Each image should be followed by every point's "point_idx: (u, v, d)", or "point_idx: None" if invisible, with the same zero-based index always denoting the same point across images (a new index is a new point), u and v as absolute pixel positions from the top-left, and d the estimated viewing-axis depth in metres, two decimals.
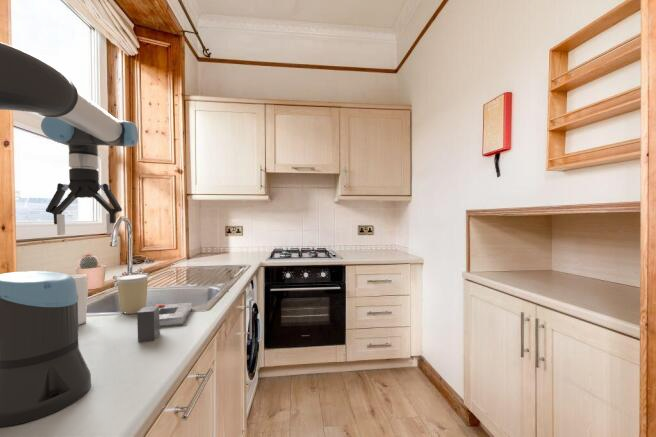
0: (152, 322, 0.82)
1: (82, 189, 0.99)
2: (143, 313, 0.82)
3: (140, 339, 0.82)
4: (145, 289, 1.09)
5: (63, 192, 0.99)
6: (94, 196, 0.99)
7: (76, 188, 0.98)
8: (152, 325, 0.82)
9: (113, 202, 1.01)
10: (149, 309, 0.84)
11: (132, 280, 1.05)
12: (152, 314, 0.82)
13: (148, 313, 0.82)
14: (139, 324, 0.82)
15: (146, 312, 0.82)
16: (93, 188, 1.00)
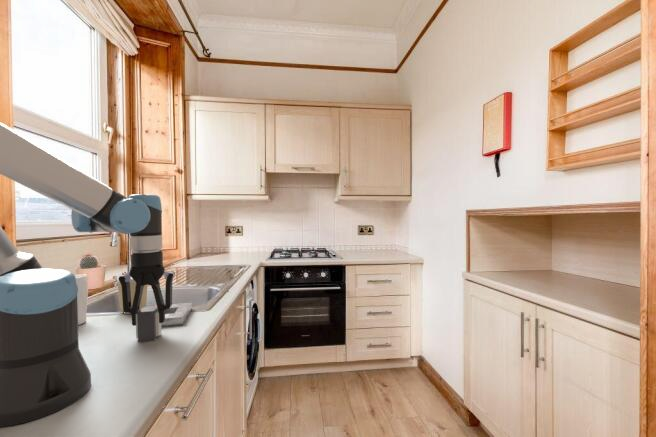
0: (152, 322, 0.82)
1: (145, 276, 0.83)
2: (143, 313, 0.82)
3: (140, 339, 0.82)
4: (145, 289, 1.09)
5: (128, 283, 0.83)
6: (153, 287, 0.83)
7: (139, 276, 0.82)
8: (152, 325, 0.82)
9: (168, 297, 0.85)
10: (149, 309, 0.84)
11: (132, 280, 1.05)
12: (152, 314, 0.82)
13: (148, 313, 0.82)
14: (139, 324, 0.82)
15: (146, 312, 0.82)
16: (157, 273, 0.84)
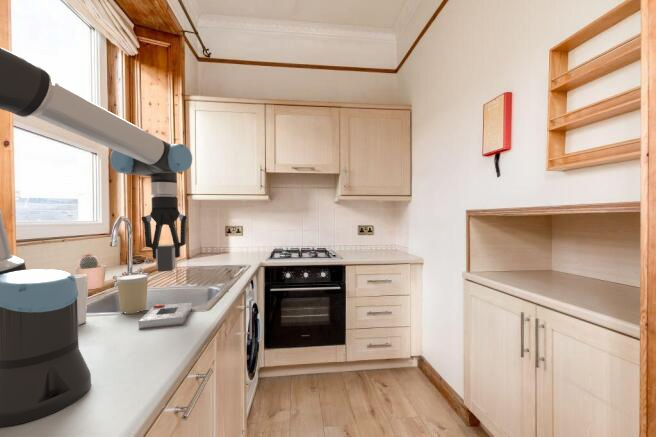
0: (170, 255, 0.98)
1: (164, 217, 0.99)
2: (162, 247, 0.97)
3: (160, 269, 0.97)
4: (145, 289, 1.09)
5: (149, 223, 0.99)
6: (170, 226, 0.99)
7: (159, 216, 0.97)
8: (170, 258, 0.98)
9: (183, 235, 1.00)
10: (167, 245, 0.99)
11: (132, 280, 1.05)
12: (170, 249, 0.98)
13: (166, 247, 0.98)
14: (159, 256, 0.97)
15: (165, 246, 0.98)
16: (173, 215, 0.99)
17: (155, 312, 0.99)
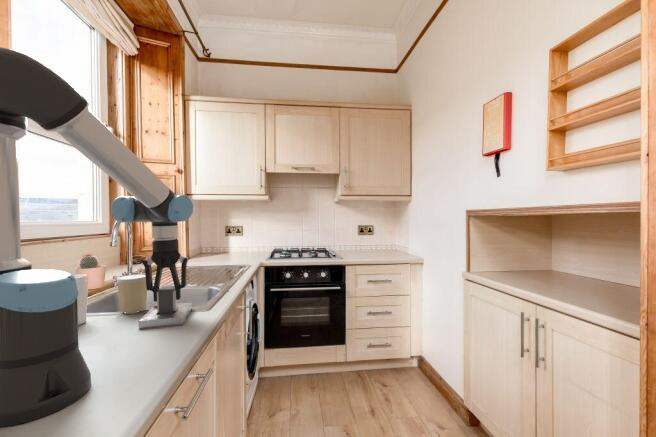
0: (170, 298, 0.98)
1: (164, 260, 0.99)
2: (163, 291, 0.98)
3: (161, 312, 0.98)
4: (145, 289, 1.09)
5: (150, 266, 0.99)
6: (171, 269, 0.99)
7: (159, 260, 0.98)
8: (170, 301, 0.98)
9: (183, 278, 1.00)
10: (168, 288, 1.00)
11: (132, 280, 1.05)
12: (171, 292, 0.98)
13: (167, 291, 0.98)
14: (160, 300, 0.97)
15: (165, 290, 0.98)
16: (174, 258, 1.00)
17: (155, 312, 0.99)
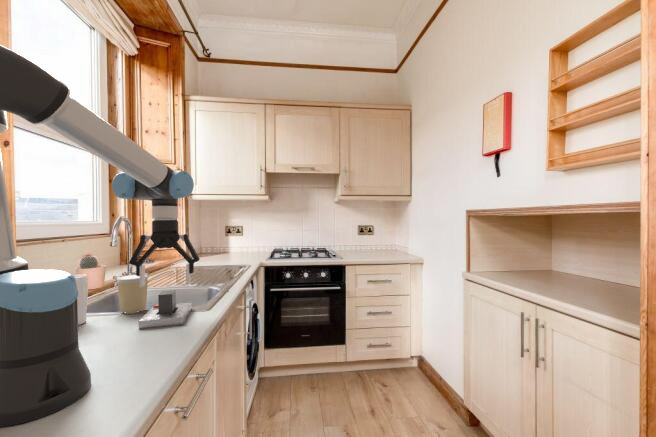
0: (170, 303, 0.98)
1: (164, 240, 0.99)
2: (163, 295, 0.98)
3: None
4: (145, 289, 1.09)
5: (145, 243, 0.98)
6: (175, 247, 0.99)
7: (159, 240, 0.97)
8: (170, 306, 0.98)
9: (193, 252, 1.01)
10: (168, 292, 1.00)
11: (132, 280, 1.05)
12: (171, 297, 0.98)
13: (167, 295, 0.98)
14: (160, 305, 0.97)
15: (166, 295, 0.98)
16: (174, 239, 0.99)
17: (155, 312, 0.99)
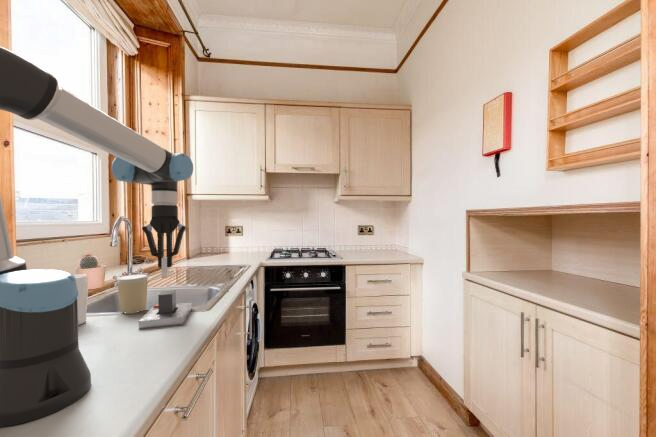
0: (170, 303, 0.98)
1: (163, 225, 0.98)
2: (163, 295, 0.98)
3: None
4: (145, 289, 1.09)
5: (151, 233, 0.99)
6: (167, 235, 0.98)
7: (158, 225, 0.97)
8: (170, 306, 0.98)
9: (177, 245, 0.99)
10: (168, 292, 1.00)
11: (132, 280, 1.05)
12: (171, 297, 0.98)
13: (167, 295, 0.98)
14: (160, 305, 0.97)
15: (166, 295, 0.98)
16: (172, 223, 0.99)
17: (155, 312, 0.99)
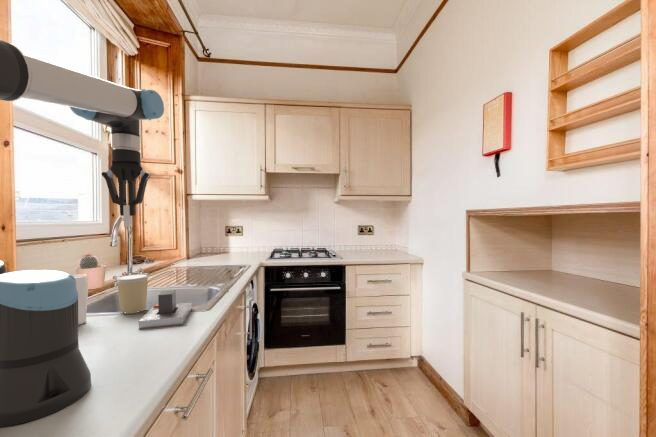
0: (170, 303, 0.98)
1: (124, 171, 0.94)
2: (163, 295, 0.98)
3: None
4: (145, 289, 1.09)
5: (112, 179, 0.94)
6: (129, 181, 0.94)
7: (119, 170, 0.93)
8: (170, 306, 0.98)
9: (140, 193, 0.95)
10: (168, 292, 1.00)
11: (132, 280, 1.05)
12: (171, 297, 0.98)
13: (167, 295, 0.98)
14: (160, 305, 0.97)
15: (166, 295, 0.98)
16: (134, 170, 0.94)
17: (155, 312, 0.99)
